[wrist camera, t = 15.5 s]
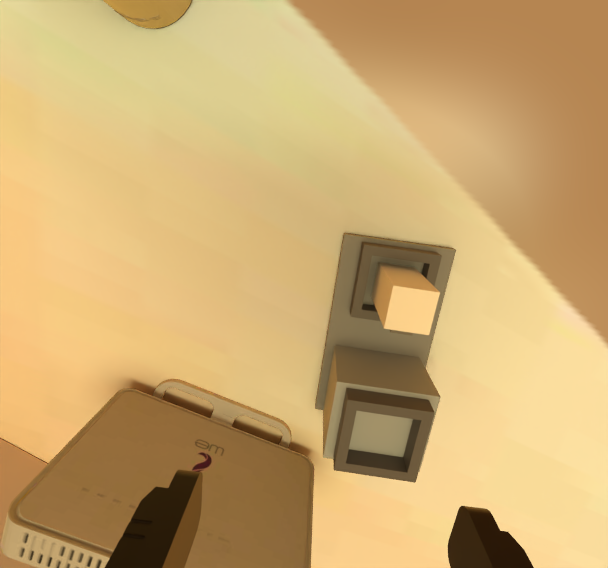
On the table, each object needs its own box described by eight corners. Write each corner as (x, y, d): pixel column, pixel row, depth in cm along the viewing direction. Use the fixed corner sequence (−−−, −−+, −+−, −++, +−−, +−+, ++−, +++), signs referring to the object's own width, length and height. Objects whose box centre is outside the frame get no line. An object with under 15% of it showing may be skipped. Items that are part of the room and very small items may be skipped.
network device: (321, 435, 47) (319, 611, 28) (296, 483, 50) (278, 675, 30) (136, 362, 46) (0, 495, 26) (119, 416, 48) (-17, 573, 29)
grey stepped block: (344, 232, 40) (351, 252, 29) (452, 248, 39) (499, 273, 29) (315, 403, 46) (312, 471, 35) (409, 417, 46) (434, 489, 35)
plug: (378, 262, 39) (393, 285, 31) (414, 267, 39) (440, 292, 31) (369, 303, 41) (382, 336, 32) (405, 308, 41) (426, 343, 32)
